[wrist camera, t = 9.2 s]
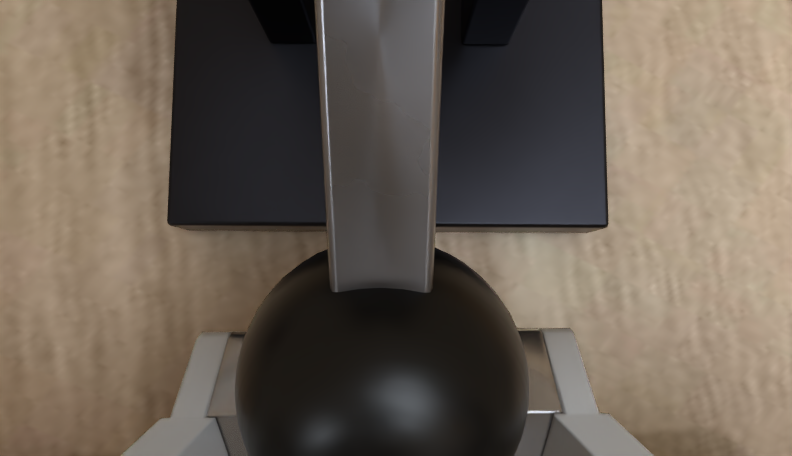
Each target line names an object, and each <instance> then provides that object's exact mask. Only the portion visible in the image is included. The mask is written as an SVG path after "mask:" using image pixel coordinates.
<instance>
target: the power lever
mask: <svg viewBox="0 0 792 456" xmlns="http://www.w3.org/2000/svg"><path fill="white" fill-rule="evenodd" d="M314 4H315V23H316V41H317V60H318V78H319V96H320V115H321V133H322V151H323V170H324V188H325V207H326V225H327V243H328V249H327V250H324V251H322V252H320V253H317V254H316V255H314V256H312V257H311V258H309V259H307V260H306V261H304V262H302V263H301V264H300V265H299V266H297V267H296V268H295V269H293V270H292V271H291V272H290V273H288V274H287V275H286V276H285V277H283V278H282V279H281V281H280V282H279V283H278V284H277V285H276V286H275V287H274V288H273V289H272V290H271V292H270V293H269V294H268V295H267V297H266V298H265V299H264V301H263V302H262V304H261V305H260V307H259V308H258V310H257V311H256V313H255V315H254V317H253V319H252V321H251V324H250V326H249V328H248V330H247V332H246V334H245V336H244V340H243V343H242V347H241V350H240V354H239V358H238V362H237V368H236V378H235V404H236V413H237V420H238V425H239V429H240V433H241V436H242V439H243V442H244V445H245V448H246V450H247V453H248V455H249V456H514V455H515V453H516V450H517V448H518V445H519V443H520V441H521V438H522V435H523V431H524V427H525V422H526V417H527V412H528V403H529V375H528V367H527V361H526V356H525V351H524V348H523V344H522V341H521V338H520V335H519V333H518V330H517V328H516V325H515V323H514V321H513V319H512V317H511V315H510V313H509V311H508V310H507V308H506V307H505V305H504V304H503V303H502V301H501V300H500V298H499V297H498V295H497V294H496V293H495V291H494V290H493V289H492V288H491V287H490V286H489V285H488V283H487V282H486V281H485V280H484V279H483V278H482V277H481V276H479V275H478V274H477V273H476V272H475V271H473V270H472V269H471V268H470V267H468V266H467V265H466V264H465V263H463V262H462V261H460V260H458V259H457V258H455V257H453V256H452V255H450V254H448V253H445V252H443V251H441V250H439V249H436V248H435V226H436V203H437V179H438V155H439V131H440V108H441V84H442V60H443V36H444V13H445V0H314Z"/></svg>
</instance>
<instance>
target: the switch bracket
mask: <svg viewBox="0 0 792 456" xmlns="http://www.w3.org/2000/svg"><path fill="white" fill-rule="evenodd" d="M167 221H168V224H169V225H171V226H175V227H179V228H182V229H186V230H228V231H327V225H326V207H325V188H324V170H323V151H322V133H321V115H320V96H319V78H318V60H317V41H316V23H315V4H314V0H177V8H176V31H175V55H174V78H173V102H172V125H171V149H170V172H169V196H168V219H167ZM607 226H608V194H607V159H606V123H605V88H604V52H603V17H602V0H445V13H444V36H443V60H442V84H441V108H440V131H439V155H438V179H437V203H436V226H435V232H557V233H588V232H592V231H596V230H600V229H603V228H606V227H607Z"/></svg>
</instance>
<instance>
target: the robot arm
mask: <svg viewBox="0 0 792 456" xmlns="http://www.w3.org/2000/svg"><path fill="white" fill-rule="evenodd" d="M517 330H518V333H519V335H520V338H521V341H522V344H523V348H524V351H525V356H526V361H527V367H528V375H529V403H528V412H527V417H526V422H525V427H524V431H523V435H522V438H521V441H520V443H519V445H518V448H517V450H516V453H515V455H514V456H654V455H653V454H652V453H651V452H650V451H649V450H648V449H647V448H646V447H645V446H643V445H642V444H641V443H640V442H639V441H638V440H637V439H636V438H635V437H634V436H633V435H632V434H631V433H629V432H628V431H627V430H626V429H625V428H624V427H623V426H622V425H621V424H620V423H619V422H618V421H617V420H616V419H614V418H613V417H612V416H611V415H610V414H609V413H599V410H598V407H597V404H596V400H595V397H594V394H593V391H592V388H591V385H590V382H589V378H588V375H587V372H586V369H585V366H584V363H583V359H582V356H581V353H580V350H579V347H578V344H577V341H576V337H575V334H574V332H573V331H572V330H571V329H570V328H540V329H538V328H517ZM245 334H246V332H201V334H200V335H199V336H198V338H197V339H196V341H195V344H194V347H193V350H192V353H191V356H190V359H189V362H188V365H187V368H186V371H185V374H184V377H183V380H182V383H181V386H180V389H179V392H178V395H177V398H176V401H175V404H174V407H173V410H172V413H171V416H170V418H160V419H159V420H158V421H157V422H156V423H155V424H154V425H153V426H152V427H150V428H149V429H148V430H147V431H146V432H145V433H144V434H143V435H142V436H141V437H140V438H139V439H138V440H136V441H135V442H134V443H133V444H132V445H131V446H130V447H129V448H128V449H127V450H126V451H125V452H123V453H122V454H121V455H120V456H249V455H248V453H247V450H246V448H245V445H244V442H243V439H242V436H241V433H240V429H239V425H238V420H237V413H236V404H235V378H236V368H237V362H238V358H239V354H240V350H241V347H242V343H243V340H244V336H245Z"/></svg>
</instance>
